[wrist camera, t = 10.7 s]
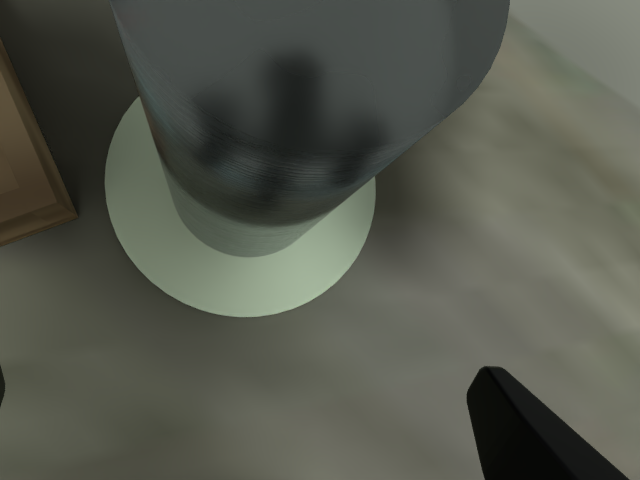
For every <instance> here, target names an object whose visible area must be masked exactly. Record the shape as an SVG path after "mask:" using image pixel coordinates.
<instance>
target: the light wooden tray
mask: <svg viewBox="0 0 640 480" xmlns="http://www.w3.org/2000/svg"><path fill="white" fill-rule="evenodd" d="M76 218H78V215H77V213H76V211H75V208H74V206H73V204H72V201H71V199H70V197H69V195H68V192H67V190H66V188H65V185H64V183H63V181H62V178H61V176H60V174H59V171H58V169H57V167H56V165H55V162H54V160H53V158H52V155H51V153H50V151H49V148H48V146H47V144H46V142H45V139H44V137H43V135H42V132H41V130H40V128H39V125H38V123H37V121H36V119H35V116H34V114H33V112H32V109H31V107H30V105H29V102H28V100H27V98H26V95H25V93H24V91H23V89H22V86H21V84H20V82H19V79H18V77H17V75H16V72H15V70H14V68H13V66H12V63H11V61H10V59H9V56H8V54H7V52H6V49H5V47H4V45H3V43H2V40H1V38H0V247H1V246H3V245H6V244H9V243H12V242H14V241H17V240H20V239H22V238H25V237H28V236H30V235H33V234H36V233H38V232H41V231H44V230H46V229H49V228H52V227H55V226H57V225H60V224H63V223H65V222H68V221H71V220H73V219H76Z"/></svg>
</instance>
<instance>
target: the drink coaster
mask: <svg viewBox="0 0 640 480" xmlns="http://www.w3.org/2000/svg"><path fill="white" fill-rule="evenodd" d="M105 194H106V203H107V207H108V211H109V216H110V220H111V222H112V225H113V228H114V230H115V233H116V235H117V238H118V239H119V241H120V243H121V245H122V246H123V248H124V250H125V252H126V253H127V255H128V256H129V257H130V259H131V260H132V261H133V263H134V264H135V265H136V267H137V268H138V269H139V270H140V271H141V272H142V273H143V274H144V275H145V276H146V277H147V278H148V279H149V280H150V281H151V282H152V283H153V284H155V285H156V286H157V287H159V288H160V289H161V290H163V291H164V292H165V293H167V294H168V295H170V296H172V297H174V298H175V299H177V300H179V301H181V302H183V303H184V304H187V305H189V306H192V307H195V308H197V309H200V310H202V311H206V312H210V313H214V314H218V315H225V316H234V317H259V316H265V315H272V314H277V313H280V312H284V311H287V310H291V309H293V308H296V307H298V306H300V305H303V304H305V303H307V302H309V301H311V300H312V299H314V298H316V297H317V296H319V295H321V294H322V293H324V292H325V291H326V290H327V289H329V288H330V287H331V286H332V285H333V284H335V283H336V282H337V281H338V280H339V279H340V278H341V277H342V276H343V275H344V273H345V272H346V271H347V270H348V269H349V268H350V266H351V265H352V263H353V262H354V261H355V259H356V258H357V256H358V254H359V253H360V251H361V249H362V247H363V245H364V243H365V241H366V238H367V235H368V233H369V230H370V227H371V223H372V219H373V215H374V208H375V198H376V187H375V176H374V177H373V178H372V179H371V180H370V181H368V182H367V183H366V184H365V185H364V186H362V187H361V188H360V189H359V190H357V191H356V192H355V193H354V194H353V195H351V196H350V197H349V198H348V199H346V200H345V201H344V202H343V203H342V204H340V205H339V206H338V207H337V208H335V209H334V210H333V211H332V212H331V213H329V214H328V215H327V216H326V217H325V218H323V219H322V220H321V221H320V222H318V223H317V224H316V225H315V226H314V227H312V228H311V229H310V230H309V231H307V232H306V233H305V234H304V235H303V236H301V237H300V238H299V239H298V240H296V241H295V242H294V243H293V244H291V245H290V246H288V247H286V248H285V249H283V250H280V251H278V252H276V253H273V254H269V255H266V256H260V257H238V256H232V255H228V254H224V253H222V252H219V251H217V250H214V249H213V248H211V247H209V246H207V245H206V244H204V243H203V242H201V241H200V240H199V239H197V238H196V237H195V236H194V235H193V234H192V233H191V232H190V231H189V230H188V228H187V227H186V226H185V225H184V223H183V222H182V220H181V218H180V217H179V215H178V213H177V210H176V208H175V206H174V203H173V200H172V196H171V193H170V190H169V187H168V184H167V181H166V178H165V175H164V171H163V168H162V165H161V162H160V159H159V156H158V153H157V150H156V146H155V143H154V140H153V137H152V134H151V131H150V128H149V125H148V122H147V118H146V115H145V112H144V109H143V106H142V103H141V100H140V97H138V98H137V99H136V100H135V101H134V102H133V103H132V105H131V106H130V107H129V109H128V110H127V111H126V113H125V114H124V116H123V117H122V119H121V121H120V123H119V125H118V127H117V129H116V131H115V133H114V136H113V139H112V141H111V144H110V147H109V151H108V156H107V161H106V167H105Z"/></svg>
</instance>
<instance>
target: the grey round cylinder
mask: <svg viewBox="0 0 640 480" xmlns="http://www.w3.org/2000/svg"><path fill="white" fill-rule="evenodd" d="M109 3H110V6H111V9H112V12H113V15H114V18H115V22H116V25H117V28H118V31H119V34H120V37H121V40H122V43H123V47H124V50H125V53H126V56H127V59H128V62H129V65H130V68H131V72H132V75H133V78H134V81H135V84H136V87H137V90H138V93H139V97H140V100H141V103H142V106H143V109H144V112H145V115H146V118H147V122H148V125H149V128H150V131H151V134H152V137H153V140H154V143H155V146H156V150H157V153H158V156H159V159H160V162H161V165H162V168H163V171H164V175H165V178H166V181H167V184H168V187H169V190H170V193H171V196H172V200H173V203H174V206H175V208H176V210H177V213H178V215H179V217H180V218H181V220H182V222H183V223H184V225H185V226H186V227H187V228H188V230H189V231H190V232H191V233H192V234H193V235H194V236H195V237H196V238H197V239H199V240H200V241H201V242H203V243H204V244H206V245H207V246H209V247H211V248H213V249H214V250H217V251H219V252H222V253H224V254H228V255H232V256H238V257H260V256H266V255H269V254H273V253H276V252H278V251H280V250H283V249H285V248H286V247H288V246H290V245H291V244H293V243H294V242H295V241H296V240H298V239H299V238H300V237H301V236H303V235H304V234H305V233H306V232H307V231H309V230H310V229H311V228H312V227H314V226H315V225H316V224H317V223H318V222H320V221H321V220H322V219H323V218H325V217H326V216H327V215H328V214H329V213H331V212H332V211H333V210H334V209H335V208H337V207H338V206H339V205H340V204H342V203H343V202H344V201H345V200H346V199H348V198H349V197H350V196H351V195H353V194H354V193H355V192H356V191H357V190H359V189H360V188H361V187H362V186H364V185H365V184H366V183H367V182H368V181H370V180H371V179H372V178H373V177H374V176H376V175H377V174H378V173H379V172H381V171H382V170H383V169H384V168H385V167H387V166H388V165H389V164H390V163H392V162H393V161H394V160H395V159H396V158H398V157H399V156H400V155H401V154H402V153H404V152H405V151H406V150H407V149H409V148H410V147H411V146H412V145H413V144H415V143H416V142H417V141H418V140H420V139H421V138H422V137H423V136H424V135H426V134H427V133H428V132H429V131H431V130H432V129H433V128H434V127H435V126H437V125H438V124H439V123H440V122H441V121H443V120H444V119H445V118H446V117H448V116H449V115H450V114H451V113H452V112H454V111H455V110H456V109H457V108H459V107H460V106H461V105H462V104H463V103H464V102H465V101H466V100H467V99H468V98H469V96H470V95H471V94H472V93H473V92H474V91H475V90H476V89H477V88H478V86H479V85H480V83H481V82H482V80H483V79H484V77H485V76H486V74H487V73H488V71H489V70H490V68H491V66H492V64H493V62H494V59H495V57H496V55H497V53H498V51H499V49H500V46H501V42H502V39H503V36H504V32H505V29H506V24H507V18H508V11H509V5H510V0H109Z"/></svg>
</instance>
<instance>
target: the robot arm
mask: <svg viewBox="0 0 640 480" xmlns="http://www.w3.org/2000/svg"><path fill="white" fill-rule="evenodd" d="M4 392H5V380H4V377H3V373H2V369H1V366H0V407H1V403H2V400H3V397H4ZM467 405H468V410H469V414H470V419H471V423H472V428H473V432H474V437H475V441H476V446H477V450H478V455H479V459H480V463H481V467H482V471H483V475H484V478H485V480H629V479H628V478H627V477H626V476H625V475H624V474H623V473H621V472H620V471H619V470H618V469H617V468H616V467H615V466H614V465H612V464H611V463H610V462H609V461H608V460H607V459H606V458H605V457H603V456H602V455H601V454H600V453H599V452H598V451H597V450H595V449H594V448H593V447H592V446H591V445H590V444H589V443H588V442H586V441H585V440H584V439H583V438H582V437H581V436H580V435H579V434H577V433H576V432H575V431H574V430H573V429H572V428H571V427H570V426H568V425H567V424H566V423H565V422H564V421H563V420H562V419H560V418H559V417H558V416H557V415H556V414H555V413H554V412H553V411H551V410H550V409H549V408H548V407H547V406H546V405H545V404H544V403H542V402H541V401H540V400H539V399H538V398H537V397H536V396H534V395H533V394H532V393H531V392H530V391H529V390H528V389H527V388H525V387H524V386H523V385H522V384H521V383H520V382H519V381H518V380H516V379H515V378H514V377H513V376H512V375H511V374H510V373H508V372H507V371H506V370H505V369H503V368H501V367H494V366H484V367H482V368H481V369H480V370H479V372H478V373H477V375H476V377H475V378H474V380H473V382H472V384H471V385H470V387H469V389H468V391H467Z"/></svg>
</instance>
